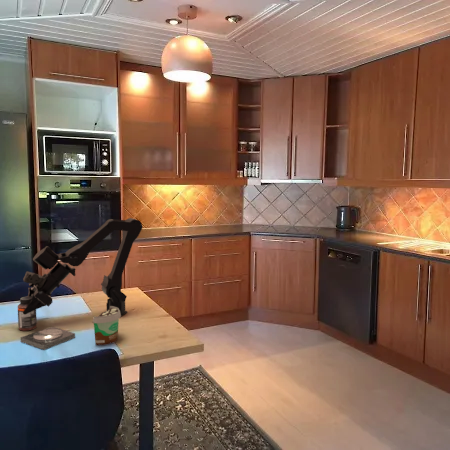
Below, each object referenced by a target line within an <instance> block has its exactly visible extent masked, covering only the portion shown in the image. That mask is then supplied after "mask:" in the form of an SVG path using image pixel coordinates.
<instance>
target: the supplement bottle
mask: <svg viewBox="0 0 450 450" xmlns="http://www.w3.org/2000/svg"><path fill="white" fill-rule="evenodd" d="M31 300H32V297H30V296H28V295H27V296H23V297H21V298H20V299H19V303H18V305H17V322H18V323H17V324H18V329H19V330H20V331H23V332H26V331H31V330H34V329H36V328H37V324H38V323H37V309H36V310H34V311H32V312H30V313H27V314H23V311H24V310H25V308H26V307H27V305H28V304H29V303H30V301H31Z"/></svg>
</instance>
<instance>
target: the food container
mask: <svg viewBox="0 0 450 450" xmlns="http://www.w3.org/2000/svg"><path fill="white" fill-rule="evenodd" d="M121 317H122V316H121V313H120V310H119V309H118V308H117V307H114V306H110V309H109V310H107V309H106V310H104V311H103V312H101V313H100V314H99V315H98V316H95V315H94V316H93V318H92V323H93V327H94V328H93V330H94V331H93V332H94V344H95V346H105V345H111V344H114V343H115V342H117V341H118V338H119V337H118V335H119V322H120V321H119V320H120V319H121Z"/></svg>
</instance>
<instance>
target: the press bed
mask: <svg viewBox="0 0 450 450" xmlns="http://www.w3.org/2000/svg"><path fill="white" fill-rule="evenodd" d="M75 338H76V333H74V332H72V331H68V330H64V329H63V328H62V329H61V328H58V327H55V326H50V327H47V328H44V329H41V330H38V331H35V332H33V333H29V334H27V335H23V336H21V337H20V342H21V343H22V344H25V343H26V345H27V346H32V347H34V348H37V349H39V348H40V350H42V349H43V351H45V350H48V349H50V348H53V347H55V346H58V345H60V344H63V343H65V342H67V341H70V340H73V339H75Z"/></svg>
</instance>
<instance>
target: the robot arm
mask: <svg viewBox="0 0 450 450" xmlns="http://www.w3.org/2000/svg"><path fill="white" fill-rule="evenodd" d="M142 230H143V224H142V222H141V221H140V220H138V219H137V218H131V217H129V218H127V219H125V220H124V219H112V218H109V219H107V220H106V221H105V222H104V223H103V224H102V225H101V226H100V227H98V228H97V230H95V231H94V232H92V234H91V235H89V236H88V237H87V238H86V239H85V240H84V241H81V243H79V244H76V245H75V246H73V247H71V248H70V249H68V250H66V252H62V253H61V252H60V253H56V252H54V251H53V250H52V249H51V247H49V246H47V245H46V246H45V247H44V248H42V249H41V250H39V251H38V252H37V253H36V254H35V255H34V257H33V258H32V260H33V262H35V263H36V264H37V265H39V266H40V267H41V268H43V269H44V270H49V272H48V273H43V275H40V274H38V273H35V272H31V271H26V272H25V275H24V277H23V279H22V281H23V282H24V283H26V284H28V286H29V287H28V295H27V296H30V297H32V300H31V301H30V303H29V304H28V305H27V307H26V308H25V310H24V311H23V314H27V313H30V312H32V311H34V310H36V311H37V310H38V309H42V308H43V307H46V306H47V307H50V306H51V305H52V304H53V298H52V293H53V292H54V291H55V289H57V288H59V287H60V284H61V283H63V281H64V280H65V279H66V278H67V277H68V276H69V275H70V274H71V275H72V276H73V277H75V276H76V268H75V267H78V266H80V265H83V263H84V261H85V260H86V259H87V258H88V256H89V254H90V253H91V252H92V250H93V249H94V248H95V247H97V246H98V245H99V244H100V243H102V242H103V240H104V239H105V238H107V237H108V236H109V235H110V234H111V233H112V232H114V231H121V233H122V235H121V242H120V245H119V247H118V250H117V252H116V253H117V254H116V256H115V259H114V263H113V265H112V268H111V271H110V273H109V274H108V276H107V275H103V279H102V280H103V281H102V282H101V283H100V286H101V291H102V292H103V294H105V295H106V296H107V300H106V311H107V310H109V309H110V306H114V307H117V308H118V309H119V310H120V313H121V317H122V316H124V315H125V314H128V311H127V310H126V300H127V298H128V297H127V295H126V294H125V293H124V292H122V286H123V281H122V280H123V279H122V278H123V277H122V276H123V274H124V270H125V268H126V264H127V262H128V259H129V256H130V252H131V250H132V247H133V244H134V242H135V241H136V240H137V239H138V237H139V235H140V233H141V232H142ZM61 262H62V263H61Z"/></svg>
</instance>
